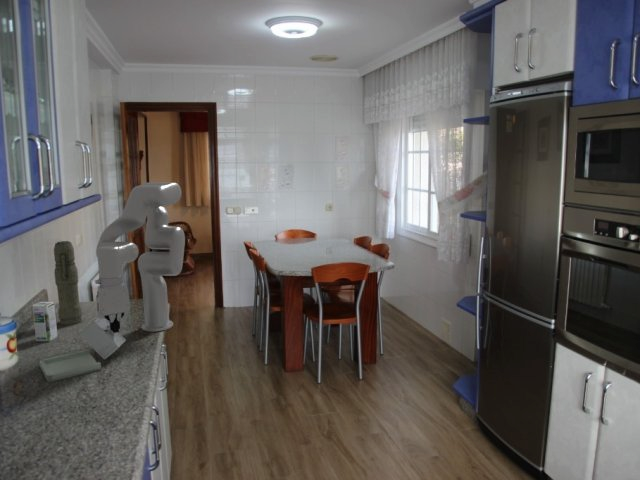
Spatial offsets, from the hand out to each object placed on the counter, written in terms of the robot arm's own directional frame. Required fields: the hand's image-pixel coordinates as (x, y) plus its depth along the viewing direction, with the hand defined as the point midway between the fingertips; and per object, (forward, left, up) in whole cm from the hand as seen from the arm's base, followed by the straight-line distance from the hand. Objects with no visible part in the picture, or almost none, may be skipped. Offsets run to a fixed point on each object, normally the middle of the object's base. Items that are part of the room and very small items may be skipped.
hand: (115, 331), depth 183 cm
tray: (0, -16, -9) cm, 18 cm away
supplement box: (-1, 0, -7) cm, 7 cm away
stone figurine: (-52, -5, -10) cm, 53 cm away
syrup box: (-36, -17, -10) cm, 41 cm away
